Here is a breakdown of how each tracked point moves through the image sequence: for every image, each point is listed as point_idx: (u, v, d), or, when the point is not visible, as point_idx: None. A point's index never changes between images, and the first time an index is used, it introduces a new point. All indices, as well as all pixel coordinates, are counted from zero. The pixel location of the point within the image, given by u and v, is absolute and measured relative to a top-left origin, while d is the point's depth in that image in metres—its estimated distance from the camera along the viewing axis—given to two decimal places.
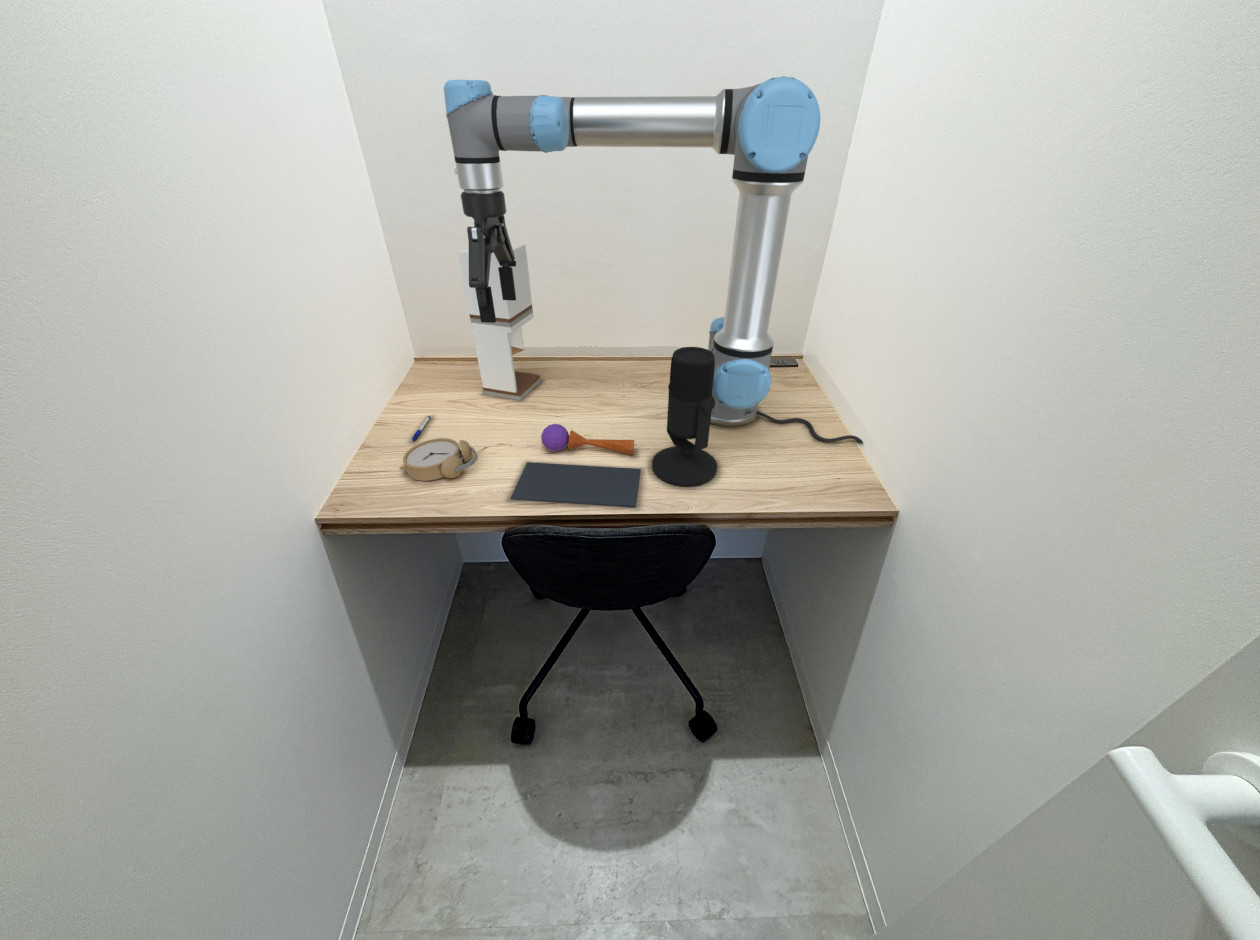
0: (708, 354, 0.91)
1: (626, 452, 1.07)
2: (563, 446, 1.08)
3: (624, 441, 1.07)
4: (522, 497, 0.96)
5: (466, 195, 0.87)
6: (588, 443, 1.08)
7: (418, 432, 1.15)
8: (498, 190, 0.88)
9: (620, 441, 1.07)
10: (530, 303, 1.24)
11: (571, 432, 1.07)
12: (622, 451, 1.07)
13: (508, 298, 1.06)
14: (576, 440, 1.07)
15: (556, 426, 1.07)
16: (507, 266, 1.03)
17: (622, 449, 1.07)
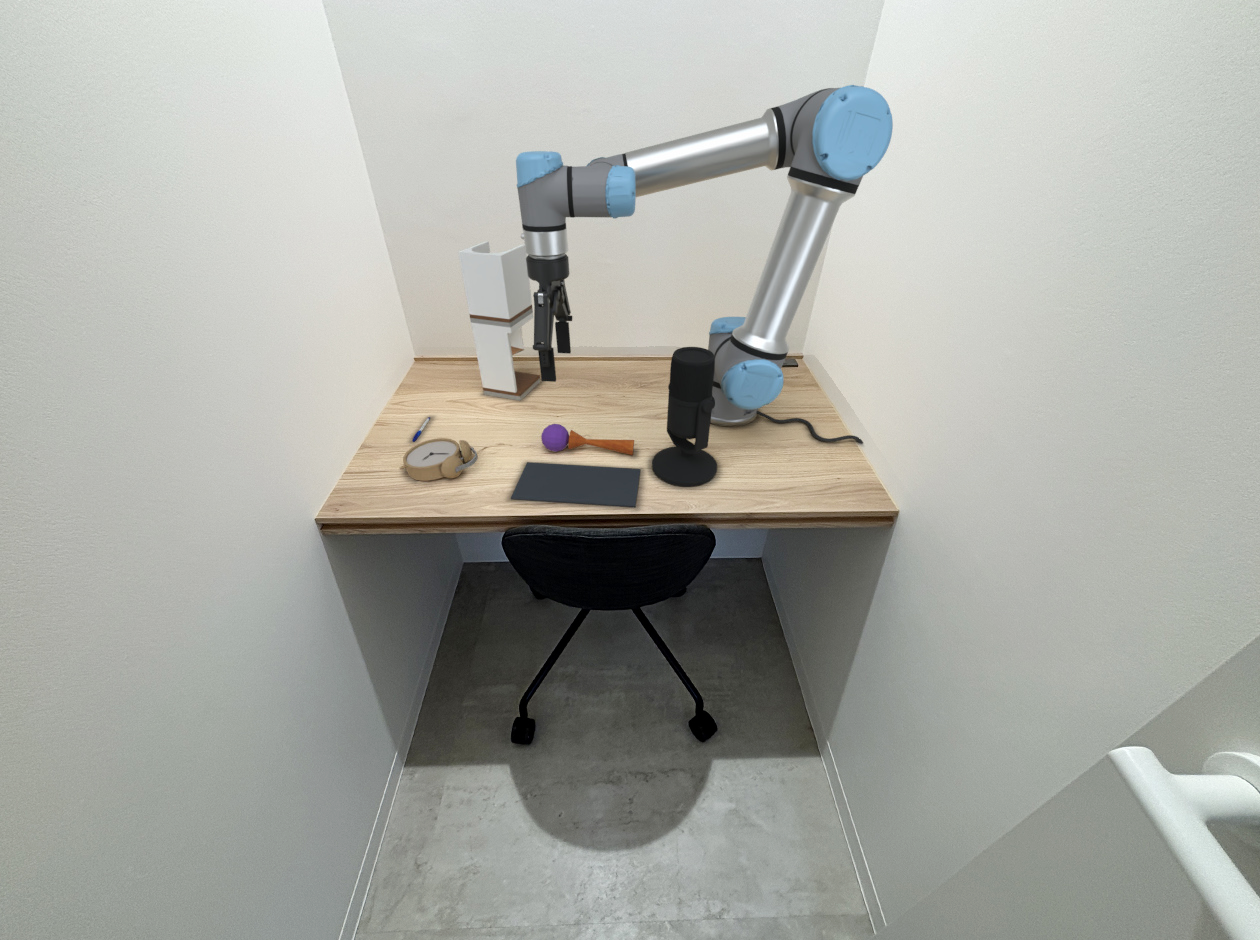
0: (708, 354, 0.91)
1: (626, 452, 1.07)
2: (563, 446, 1.08)
3: (624, 441, 1.07)
4: (522, 497, 0.96)
5: (532, 261, 0.87)
6: (588, 443, 1.08)
7: (418, 433, 1.15)
8: (563, 254, 0.88)
9: (620, 441, 1.07)
10: (530, 303, 1.24)
11: (571, 432, 1.07)
12: (622, 451, 1.07)
13: (563, 351, 1.07)
14: (576, 440, 1.07)
15: (556, 426, 1.07)
16: (564, 321, 1.03)
17: (622, 449, 1.07)
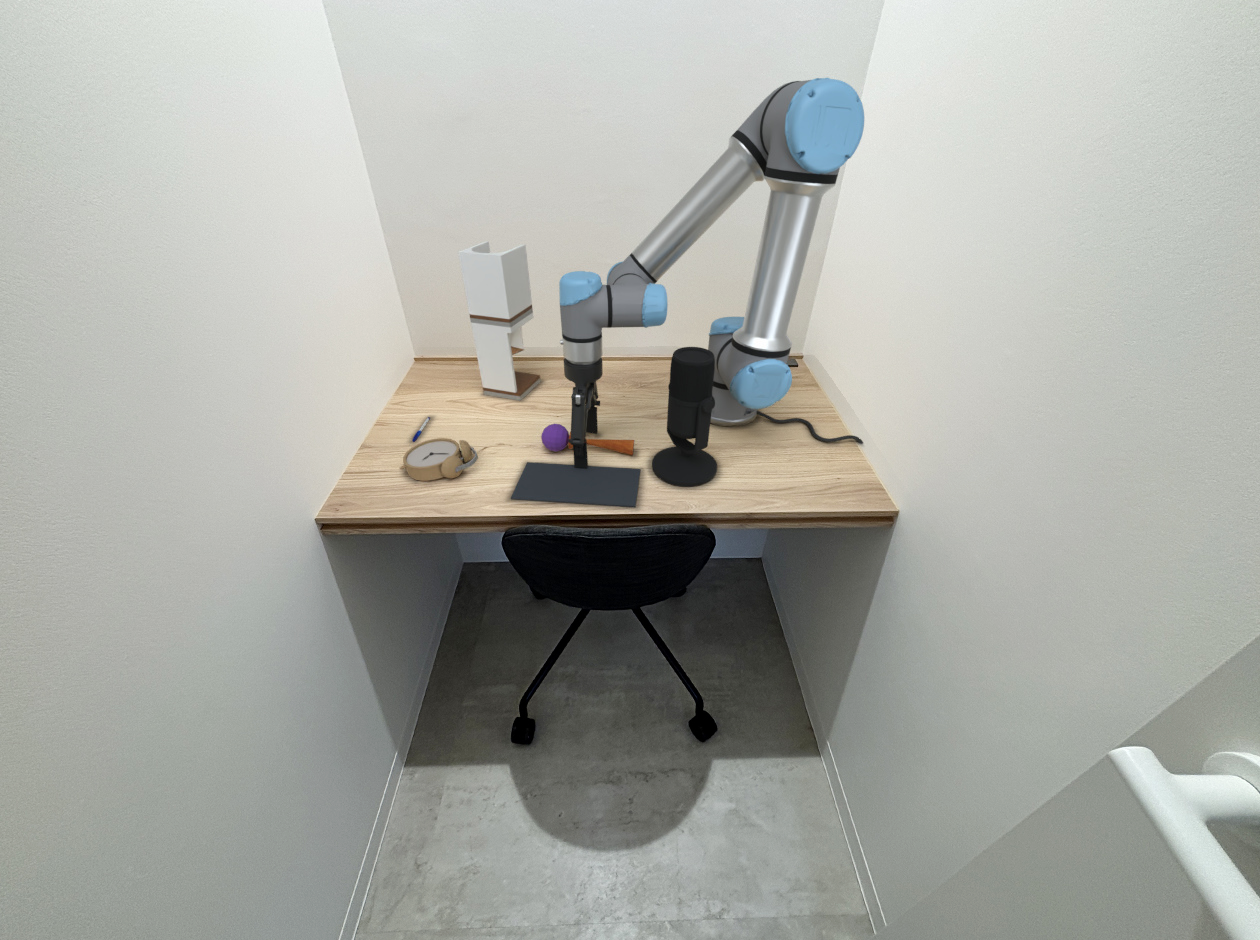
0: (708, 354, 0.91)
1: (626, 452, 1.07)
2: (563, 446, 1.08)
3: (624, 441, 1.07)
4: (522, 497, 0.96)
5: (571, 365, 0.95)
6: (588, 443, 1.08)
7: (418, 433, 1.15)
8: (598, 358, 0.97)
9: (620, 441, 1.07)
10: (530, 303, 1.24)
11: None
12: (622, 451, 1.07)
13: (590, 431, 1.15)
14: None
15: (556, 426, 1.07)
16: (592, 406, 1.11)
17: (622, 449, 1.07)
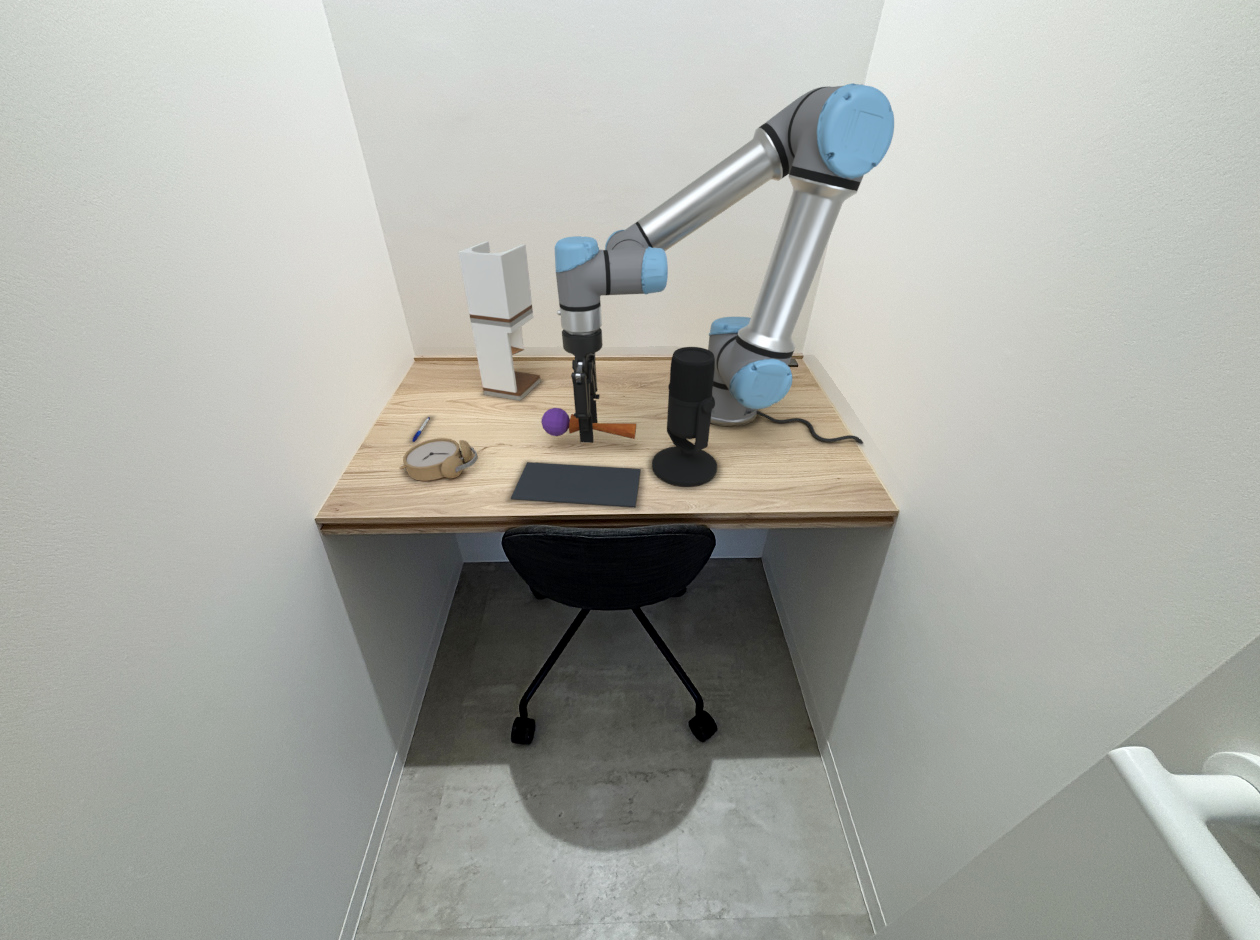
0: (708, 354, 0.91)
1: (628, 436, 1.05)
2: (564, 430, 1.05)
3: (626, 425, 1.05)
4: (522, 497, 0.96)
5: (569, 336, 0.92)
6: None
7: (418, 433, 1.15)
8: (597, 329, 0.93)
9: (622, 425, 1.05)
10: (530, 303, 1.24)
11: (572, 416, 1.05)
12: (624, 435, 1.05)
13: None
14: (576, 424, 1.05)
15: (556, 410, 1.05)
16: (591, 399, 1.06)
17: (624, 432, 1.05)
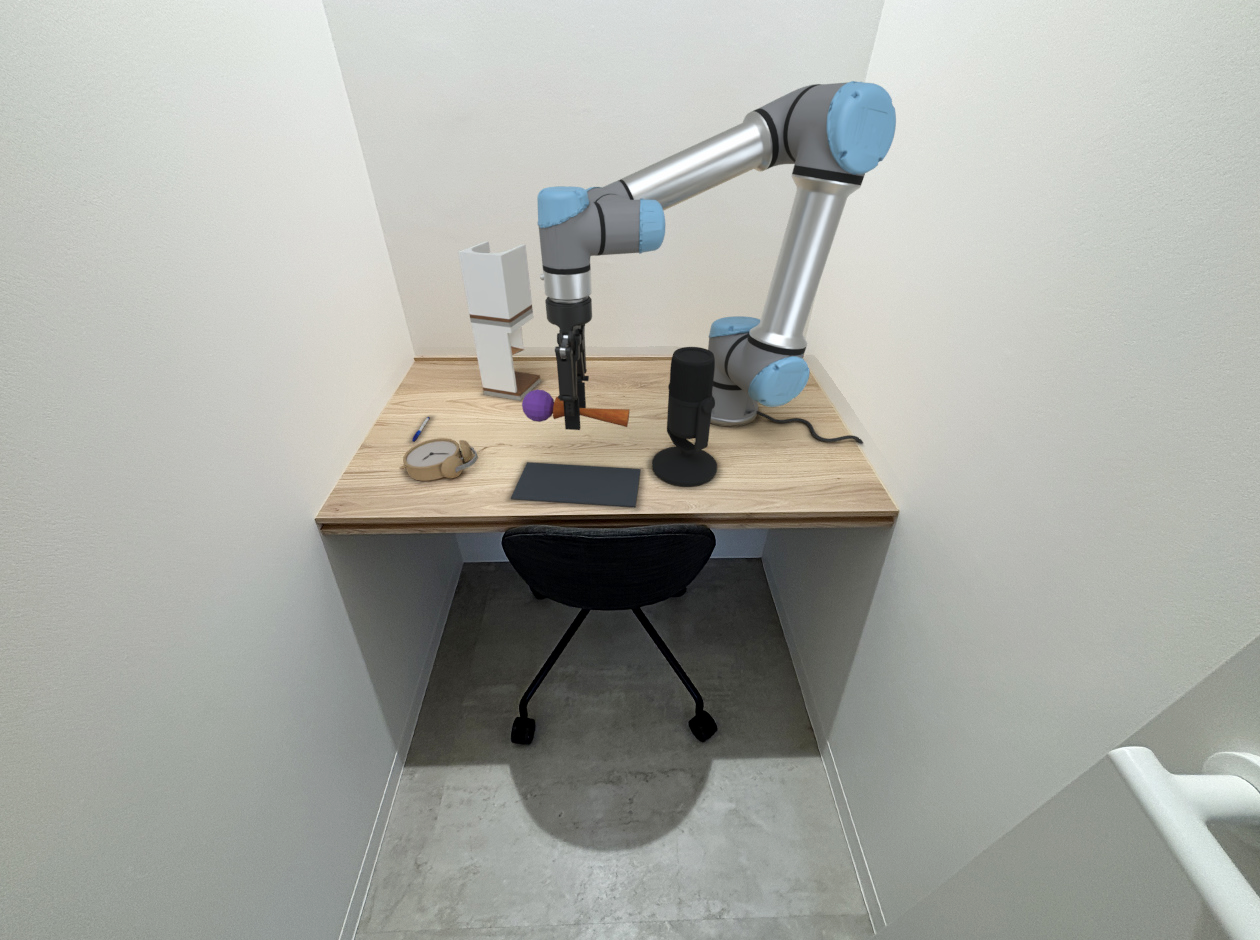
0: (708, 354, 0.91)
1: (620, 423, 0.93)
2: (547, 415, 0.93)
3: (617, 410, 0.92)
4: (522, 497, 0.96)
5: (553, 304, 0.79)
6: None
7: (418, 433, 1.15)
8: (586, 297, 0.81)
9: (613, 410, 0.93)
10: (530, 303, 1.24)
11: (556, 399, 0.93)
12: (615, 422, 0.93)
13: None
14: (561, 409, 0.93)
15: (539, 392, 0.92)
16: (579, 381, 0.94)
17: (615, 419, 0.92)
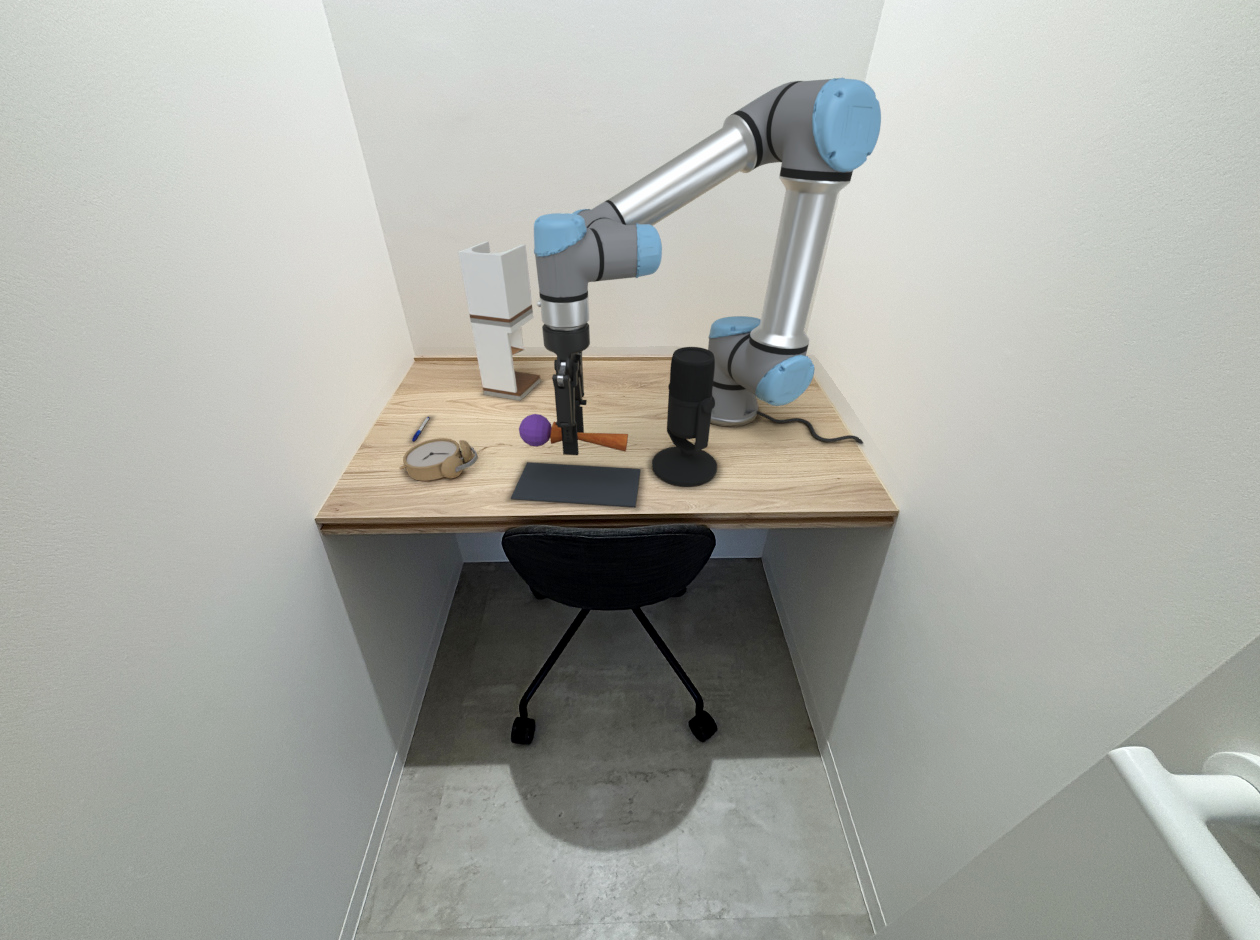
0: (708, 354, 0.91)
1: (618, 448, 0.91)
2: (544, 440, 0.92)
3: (616, 435, 0.91)
4: (522, 497, 0.96)
5: (550, 332, 0.78)
6: None
7: (418, 433, 1.15)
8: (584, 324, 0.80)
9: (611, 435, 0.91)
10: (530, 303, 1.24)
11: (554, 424, 0.91)
12: (614, 447, 0.91)
13: None
14: (559, 434, 0.91)
15: (536, 417, 0.91)
16: (577, 405, 0.92)
17: (614, 444, 0.91)
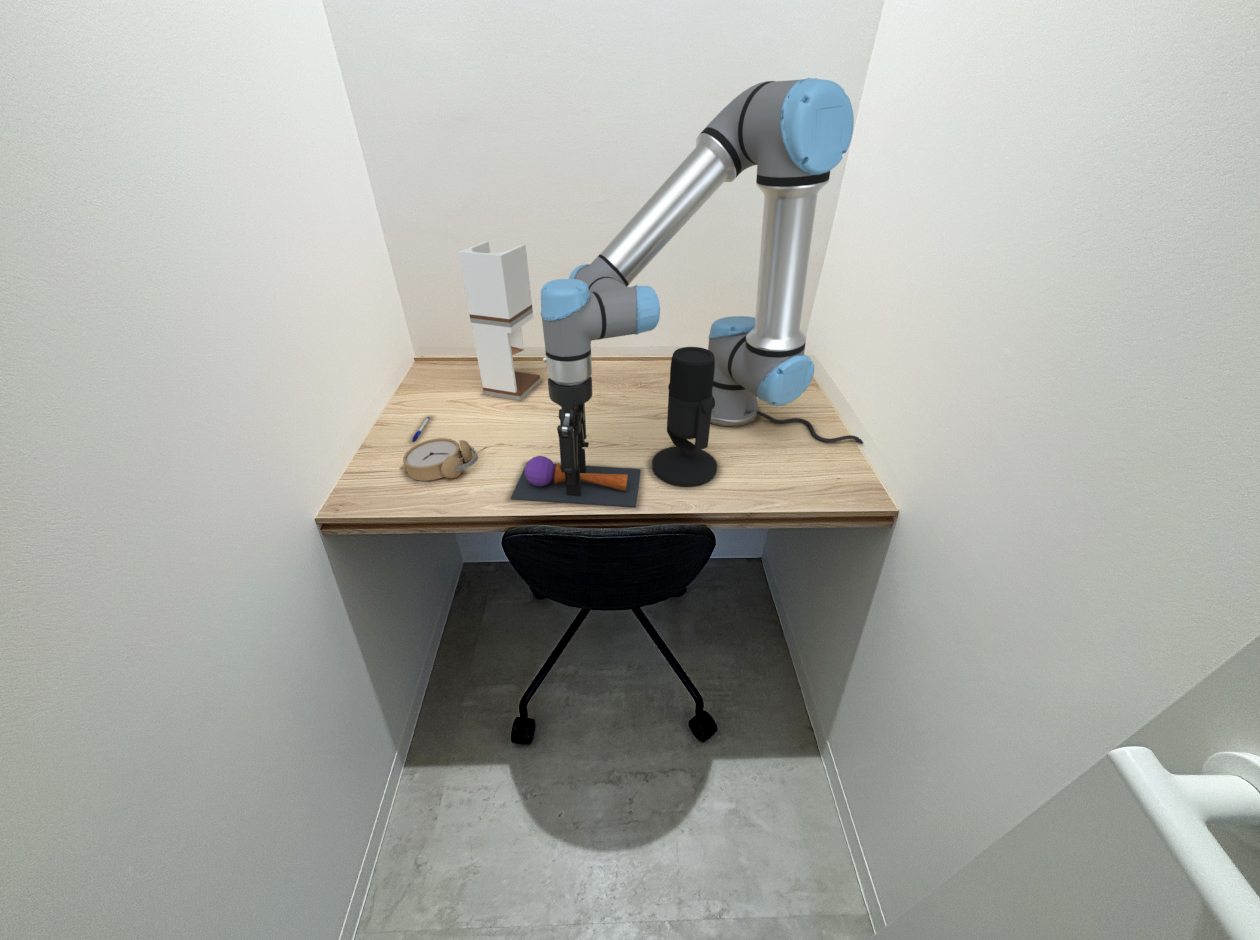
0: (708, 354, 0.91)
1: (619, 488, 0.97)
2: (549, 481, 0.97)
3: (616, 476, 0.96)
4: (522, 497, 0.96)
5: (555, 386, 0.83)
6: None
7: (418, 433, 1.15)
8: (587, 378, 0.85)
9: (612, 476, 0.96)
10: (530, 303, 1.24)
11: (558, 465, 0.97)
12: (614, 487, 0.97)
13: None
14: (563, 475, 0.96)
15: (541, 459, 0.96)
16: (580, 447, 0.98)
17: (614, 484, 0.96)
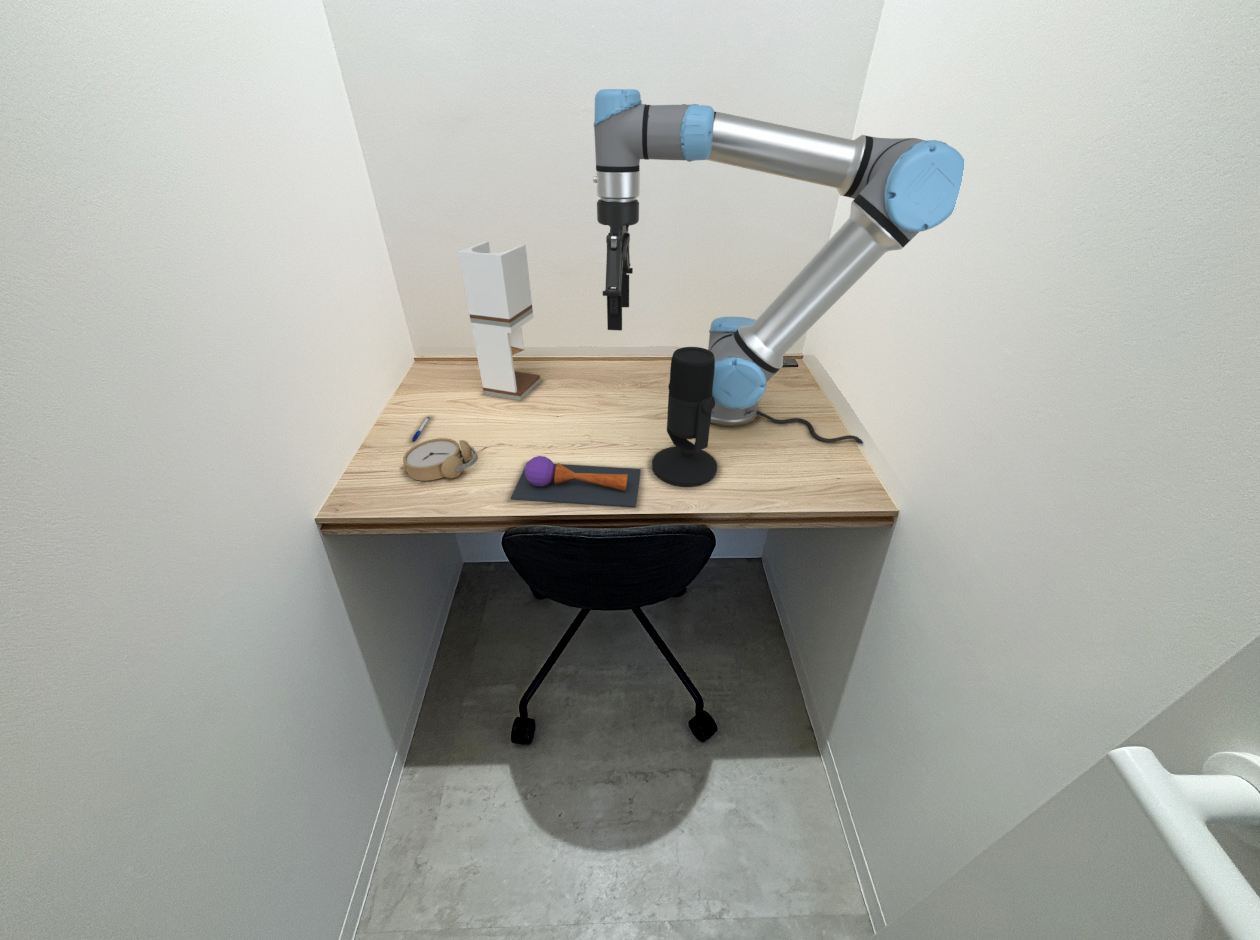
0: (708, 354, 0.91)
1: (619, 488, 0.97)
2: (549, 481, 0.97)
3: (616, 476, 0.96)
4: (522, 497, 0.96)
5: (605, 203, 0.86)
6: (576, 478, 0.97)
7: (418, 433, 1.15)
8: (635, 198, 0.88)
9: (612, 476, 0.96)
10: (530, 303, 1.24)
11: (558, 466, 0.97)
12: (614, 487, 0.97)
13: (622, 305, 1.06)
14: (563, 475, 0.96)
15: (541, 459, 0.96)
16: (624, 273, 1.03)
17: (614, 484, 0.96)
